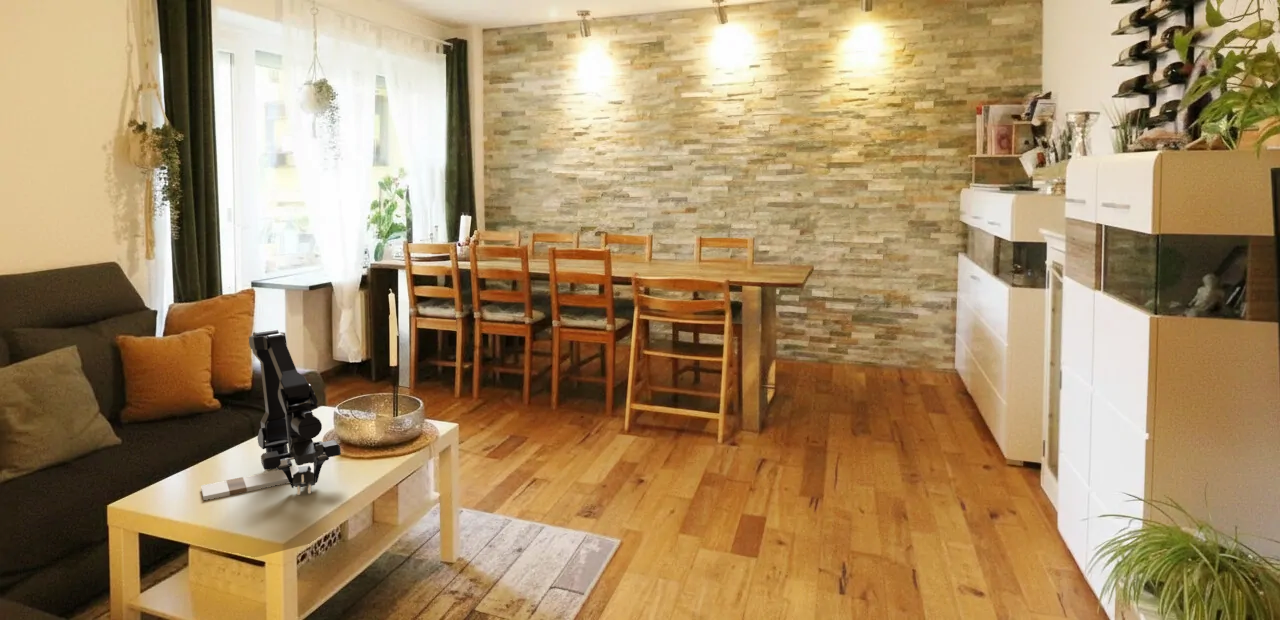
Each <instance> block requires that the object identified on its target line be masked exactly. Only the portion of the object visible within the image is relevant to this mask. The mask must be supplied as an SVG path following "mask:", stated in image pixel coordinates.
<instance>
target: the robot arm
mask: <svg viewBox="0 0 1280 620" xmlns="http://www.w3.org/2000/svg"><path fill="white" fill-rule="evenodd" d="M248 344H249V347H250V349H251V350H252V354H253V356H255V357H256V359H257V360H258V361H259V364H260V371H261V372H260V373H261V380H262V388H263V389H262V390H263V391H262V392H263V398H264V399H263V400H264V406H265V408H264V409H265V412H264V414H263V416H262V417H261V420H260V428H259V431H258V435H257V444H258V447H260V448H261V450H265V452H263V453H262V454H261V455H260V461H261V465H262V467H263V469H264V470H266V471H269V470H272V469H276V470H283V472H284V473H285V475H286V476H287V478H288V480H289V482H290V483H289V485H290V486H291V488H292V489H294V488H295V486H292V480H293V479H292V475H291V471H290V468H291V466H292V465H293V462H292V460H294V463H295V465H296V466H301V465H306V464H311V463H313V464H314V474H315V476H316V484H317V483H318V481H319V476H320V473H321V469H322V467H323V465H324V463H326V461H329V459H330V458H331V457H335V456H341V454H342V453H341V446H340V444H339V443H338V442H337V441H336V440H335V439H332V440H326V441H322V440H321V441H313V439H314V438H316V437H317V436H319V434H320V433H321V431H322V428H323V427H322V426H323V425H322V422H321V420H320V419H319V418H318V417H317V416H315V415H313V411H312V410H314V409H318V405H317V404H318V399H317V396H316V393H315V390H314V388H313V386H312V385H311V384H310V383H309V382H308V380H307V378H306V377H305V375H303V374H301V373H299V372H298V370H297V368H296V365H295V363H294V360H293V358H292V355H291V352H290V350H289V348H288V346H287V345H288V344H287V337H286V332H283V331H282V332H279V330H278V329H277V328H275V329H267V330H261V331H253V333H252V335H250V336H249V337H248Z"/></svg>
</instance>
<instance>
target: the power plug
mask: <svg viewBox="0 0 1280 620" xmlns="http://www.w3.org/2000/svg"><path fill="white" fill-rule="evenodd" d="M300 466H301V465H300ZM298 468H299V470H298V472H297V473H295V474H294V475H293V478H292V479H293V480H292V486H294V488H297V491H296V492H297V496H301V488H305V487H307V494H308V495H310V494H312V486H315V485H316V484H317V483H316V476H315V474H314V473H313V472H311V468H310V466H301V467H298Z"/></svg>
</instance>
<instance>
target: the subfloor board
mask: <svg viewBox="0 0 1280 620" xmlns="http://www.w3.org/2000/svg"><path fill="white" fill-rule="evenodd" d="M301 466H310V468H311V472H313V473H314V463H306V464H303V465H296V466H292V467H291V466H290V471H291V475H292V478H293V475H294V474H295V473H297V472H298V470H299V468H298V467H301ZM285 483H286V484H290V483H289V480H288V478H287V476H286V475H285V473H284V472H283V470H277V469H276V470H272V471H268V472H267V471H266V472H263V473H262V472H261V473H257V474H252V475H246V476H241V477H237V478H232V479H226V480H222V481H217V482H210V483H208V484H207V483H205V484H202V485H200V487H201V489H200V490H201V495H202V499H203V501H204V500H206V501H209V500H208V499H210V500H214V498H215V499H219V497H220V498H224V497H229V496H234V495H239V494H242V493H247V492H253V491H257V490H262V489H266V488H265V487H267V488H271V486H272V487H276V486H275V485H277V486H280V484H281V485H286V484H285ZM261 488H262V489H261Z"/></svg>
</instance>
